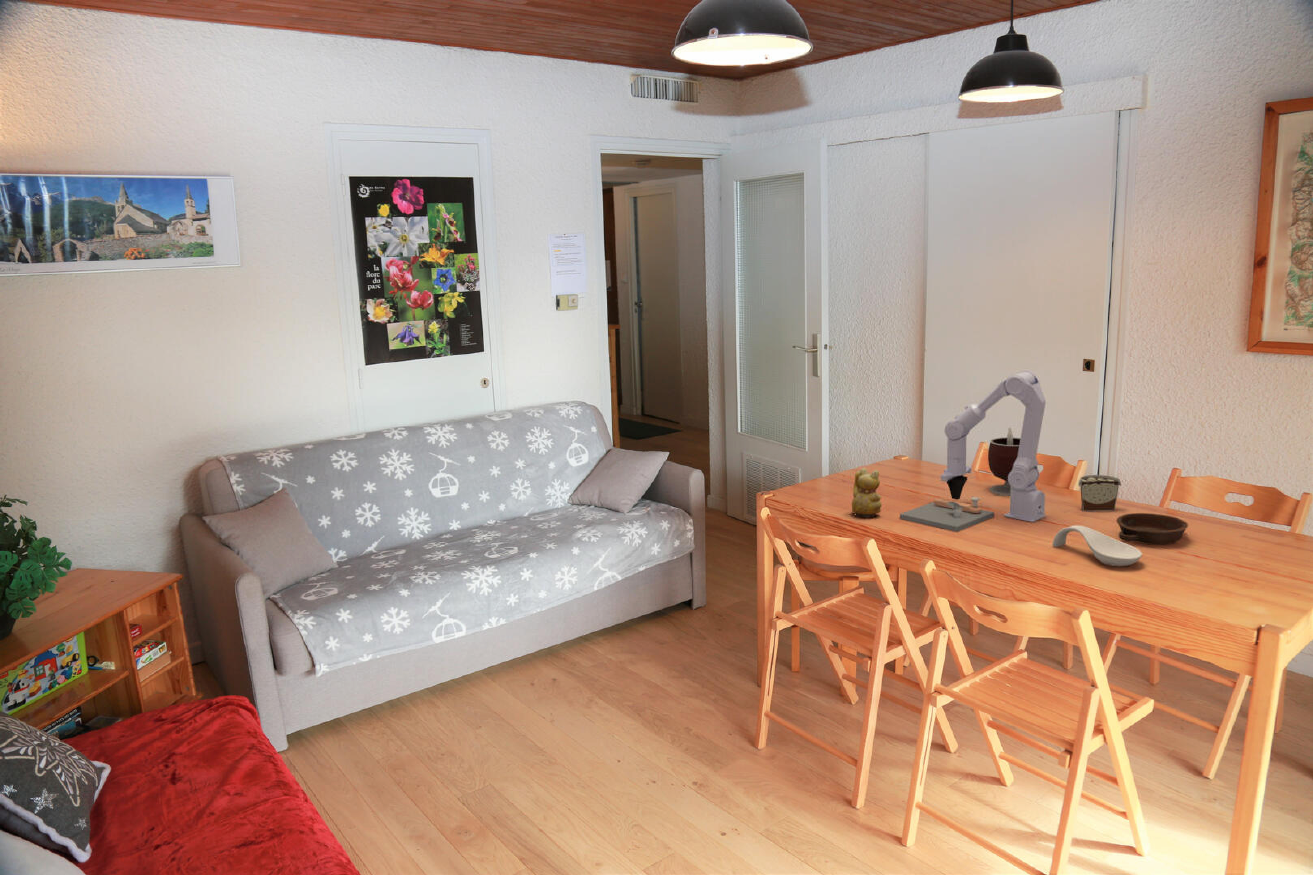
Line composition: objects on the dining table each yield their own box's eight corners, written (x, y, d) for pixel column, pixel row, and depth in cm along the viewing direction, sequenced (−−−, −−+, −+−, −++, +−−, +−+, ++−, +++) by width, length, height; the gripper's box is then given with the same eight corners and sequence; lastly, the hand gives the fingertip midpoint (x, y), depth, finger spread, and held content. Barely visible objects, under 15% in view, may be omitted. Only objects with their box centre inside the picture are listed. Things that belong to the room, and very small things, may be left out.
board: (993, 516, 287) (993, 512, 286) (957, 531, 274) (957, 526, 274) (936, 505, 302) (937, 500, 302) (899, 518, 289) (899, 514, 289)
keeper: (953, 512, 288) (953, 501, 287) (961, 517, 283) (961, 505, 282) (947, 513, 288) (947, 502, 287) (955, 517, 283) (955, 506, 282)
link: (983, 511, 287) (983, 497, 286) (977, 513, 284) (977, 500, 284) (939, 502, 298) (940, 489, 297) (933, 504, 296) (933, 491, 295)
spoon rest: (1150, 564, 241) (1152, 538, 240) (1122, 574, 236) (1124, 547, 234) (1070, 542, 262) (1071, 517, 260) (1042, 550, 256) (1043, 525, 254)
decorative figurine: (885, 514, 294) (885, 468, 291) (873, 521, 288) (873, 473, 285) (857, 510, 301) (857, 464, 298) (845, 516, 294) (845, 470, 291)
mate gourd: (1032, 497, 305) (1034, 437, 301) (987, 495, 310) (989, 436, 305) (1029, 485, 320) (1031, 428, 316) (986, 484, 324) (988, 427, 320)
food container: (1112, 505, 293) (1113, 474, 291) (1119, 510, 287) (1121, 479, 285) (1071, 505, 294) (1072, 475, 292) (1077, 511, 288) (1079, 479, 286)
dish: (1095, 536, 266) (1096, 519, 265) (1153, 524, 273) (1154, 508, 272) (1147, 553, 250) (1148, 535, 249) (1207, 540, 257) (1208, 523, 256)
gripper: (958, 451, 304) (957, 492, 307) (932, 459, 295) (931, 501, 298) (977, 454, 299) (976, 495, 302) (952, 463, 290) (951, 505, 293)
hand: (955, 498), depth 299 cm, fingers closed
